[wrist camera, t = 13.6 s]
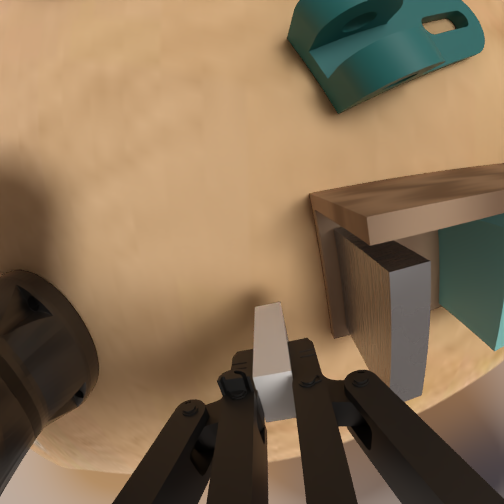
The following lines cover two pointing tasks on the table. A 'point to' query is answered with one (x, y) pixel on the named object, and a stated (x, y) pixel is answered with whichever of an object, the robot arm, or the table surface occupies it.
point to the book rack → (402, 218)
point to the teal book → (474, 276)
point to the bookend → (387, 309)
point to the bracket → (378, 43)
